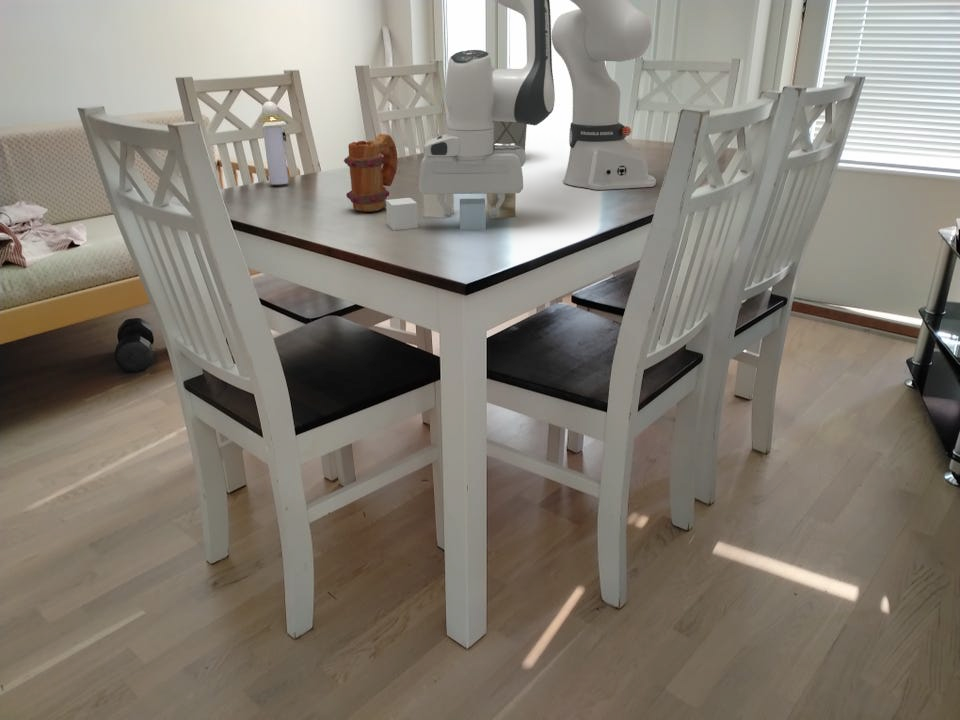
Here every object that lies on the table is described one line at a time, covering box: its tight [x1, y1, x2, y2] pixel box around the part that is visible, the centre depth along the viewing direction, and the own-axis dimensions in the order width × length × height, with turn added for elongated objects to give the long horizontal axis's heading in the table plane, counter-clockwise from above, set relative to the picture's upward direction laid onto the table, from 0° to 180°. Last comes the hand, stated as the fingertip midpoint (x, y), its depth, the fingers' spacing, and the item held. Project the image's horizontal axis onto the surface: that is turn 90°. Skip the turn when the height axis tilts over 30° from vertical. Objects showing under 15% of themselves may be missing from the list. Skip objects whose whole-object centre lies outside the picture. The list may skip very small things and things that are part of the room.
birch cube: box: [486, 193, 517, 219], centre depth 153 cm, size 5×5×5 cm
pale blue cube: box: [459, 197, 487, 231], centre depth 144 cm, size 5×5×5 cm
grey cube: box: [385, 197, 419, 231], centre depth 145 cm, size 5×5×5 cm
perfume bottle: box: [258, 100, 290, 185], centre depth 179 cm, size 6×6×20 cm
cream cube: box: [422, 193, 455, 219], centre depth 153 cm, size 5×5×5 cm
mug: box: [343, 133, 398, 213], centre depth 157 cm, size 15×8×15 cm, turn 148°
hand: (471, 215), depth 144 cm, fingers open, 8 cm apart
